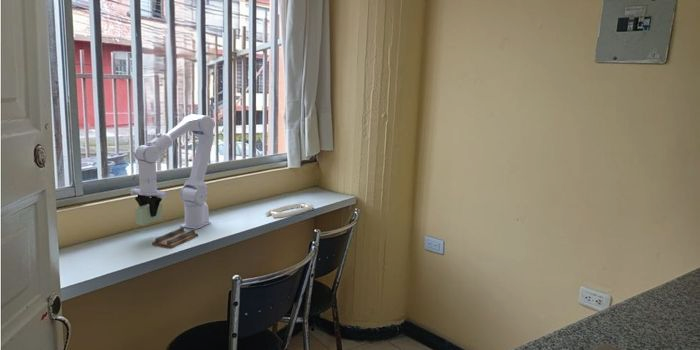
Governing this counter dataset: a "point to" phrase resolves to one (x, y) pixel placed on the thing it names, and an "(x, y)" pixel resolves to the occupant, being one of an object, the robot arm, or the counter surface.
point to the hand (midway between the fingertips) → (149, 215)
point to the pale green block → (147, 214)
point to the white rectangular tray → (278, 214)
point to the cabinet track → (174, 238)
